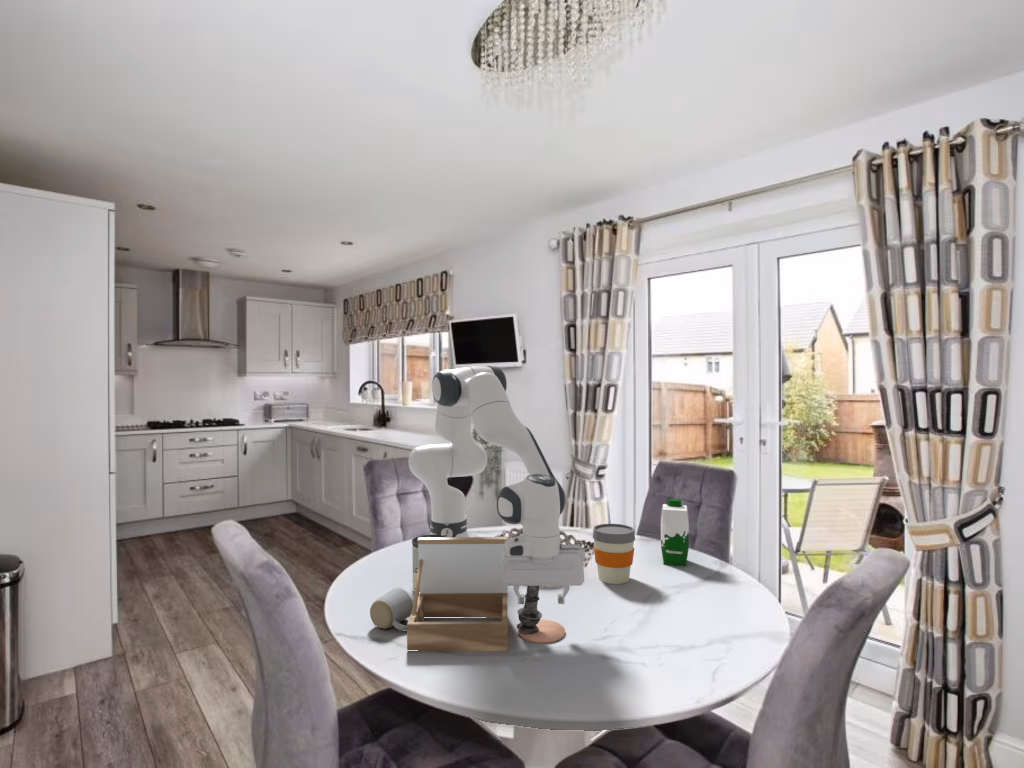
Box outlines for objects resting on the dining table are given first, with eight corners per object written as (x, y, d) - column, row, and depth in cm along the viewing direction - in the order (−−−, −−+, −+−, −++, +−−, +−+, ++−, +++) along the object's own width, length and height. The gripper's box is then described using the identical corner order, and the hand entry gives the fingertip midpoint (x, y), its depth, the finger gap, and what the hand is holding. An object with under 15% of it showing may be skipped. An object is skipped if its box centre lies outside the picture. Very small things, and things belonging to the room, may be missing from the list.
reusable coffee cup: (639, 586, 158) (639, 534, 158) (595, 586, 158) (595, 534, 158) (630, 571, 171) (630, 523, 171) (590, 571, 171) (590, 523, 171)
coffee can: (417, 581, 163) (417, 533, 163) (451, 582, 162) (451, 534, 162) (407, 594, 152) (407, 544, 152) (443, 596, 151) (443, 545, 151)
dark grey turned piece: (526, 620, 133) (533, 571, 133) (545, 630, 130) (552, 580, 129) (510, 626, 129) (517, 575, 129) (529, 636, 125) (536, 584, 125)
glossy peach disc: (517, 622, 135) (517, 619, 135) (562, 621, 135) (562, 619, 135) (518, 643, 124) (518, 640, 124) (567, 643, 124) (567, 640, 124)
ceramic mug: (367, 627, 132) (367, 595, 132) (389, 614, 139) (389, 584, 139) (402, 637, 127) (403, 604, 127) (423, 623, 135) (423, 592, 134)
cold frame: (419, 616, 138) (419, 592, 138) (507, 616, 138) (507, 592, 138) (407, 651, 120) (407, 624, 120) (507, 651, 120) (507, 623, 120)
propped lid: (420, 594, 138) (420, 534, 138) (507, 593, 139) (507, 534, 139) (410, 617, 125) (410, 551, 124) (507, 617, 125) (507, 551, 125)
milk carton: (688, 558, 183) (688, 498, 183) (689, 567, 174) (688, 504, 174) (661, 556, 186) (661, 497, 185) (660, 565, 177) (660, 503, 177)
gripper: (583, 540, 133) (583, 597, 133) (498, 540, 132) (498, 598, 132) (587, 548, 126) (587, 608, 126) (498, 548, 126) (498, 608, 126)
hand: (541, 603), depth 129 cm, fingers open, 8 cm apart
